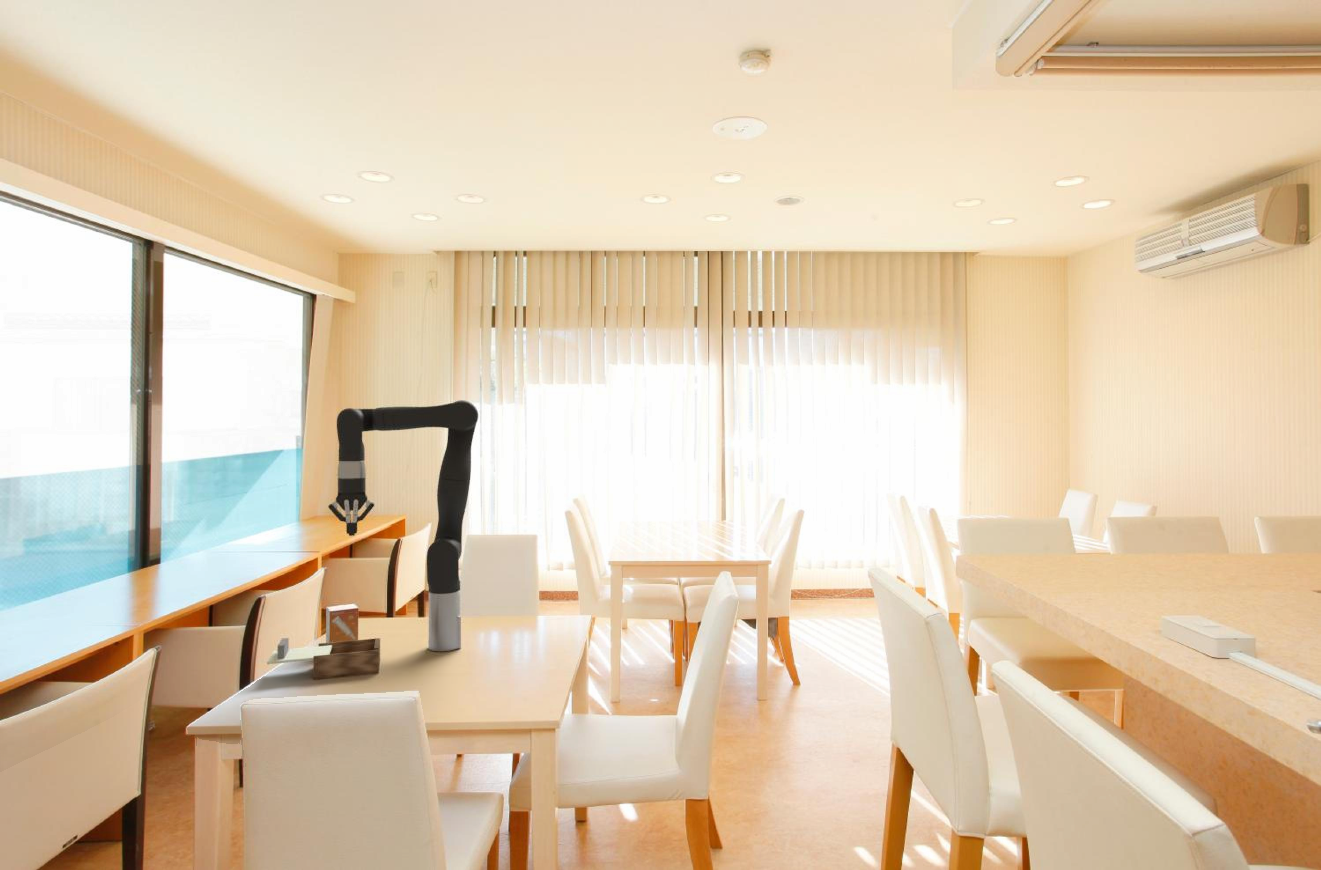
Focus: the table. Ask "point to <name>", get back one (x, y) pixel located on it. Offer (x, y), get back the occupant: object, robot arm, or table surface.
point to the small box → (341, 623)
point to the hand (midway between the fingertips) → (351, 535)
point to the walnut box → (348, 659)
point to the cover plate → (296, 653)
